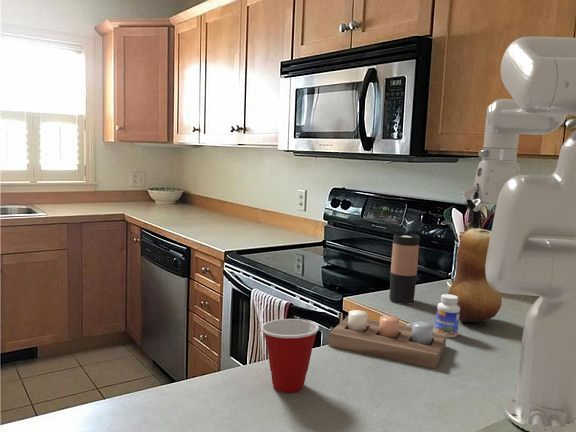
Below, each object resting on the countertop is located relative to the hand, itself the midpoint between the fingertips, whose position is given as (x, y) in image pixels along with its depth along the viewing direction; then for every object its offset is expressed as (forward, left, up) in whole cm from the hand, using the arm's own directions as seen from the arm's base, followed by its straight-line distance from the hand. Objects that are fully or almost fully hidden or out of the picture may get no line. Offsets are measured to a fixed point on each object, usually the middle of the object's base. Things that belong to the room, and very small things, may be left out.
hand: (492, 227), depth 124 cm
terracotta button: (-19, +19, -25) cm, 36 cm away
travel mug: (+19, +24, -28) cm, 41 cm away
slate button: (-18, +12, -25) cm, 33 cm away
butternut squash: (+11, +3, -28) cm, 30 cm away
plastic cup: (-48, +31, -28) cm, 63 cm away
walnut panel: (-19, +19, -27) cm, 38 cm away
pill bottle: (-3, +8, -28) cm, 29 cm away
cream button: (-18, +27, -25) cm, 41 cm away
